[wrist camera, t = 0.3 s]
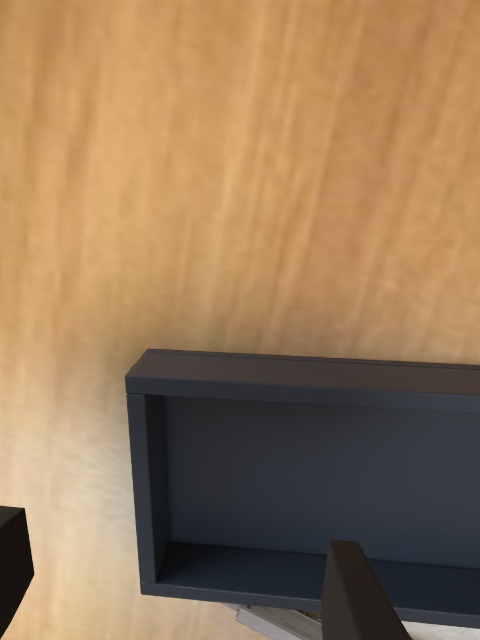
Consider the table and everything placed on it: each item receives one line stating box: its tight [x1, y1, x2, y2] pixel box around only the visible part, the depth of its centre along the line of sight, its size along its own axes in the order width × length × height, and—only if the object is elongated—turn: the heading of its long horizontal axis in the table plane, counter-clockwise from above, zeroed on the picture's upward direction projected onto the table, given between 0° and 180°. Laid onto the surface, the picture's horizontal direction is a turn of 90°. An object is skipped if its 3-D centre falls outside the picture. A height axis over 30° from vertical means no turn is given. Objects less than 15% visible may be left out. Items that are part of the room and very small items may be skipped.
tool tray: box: [125, 349, 480, 629], centre depth 18 cm, size 12×25×3 cm, turn 89°
